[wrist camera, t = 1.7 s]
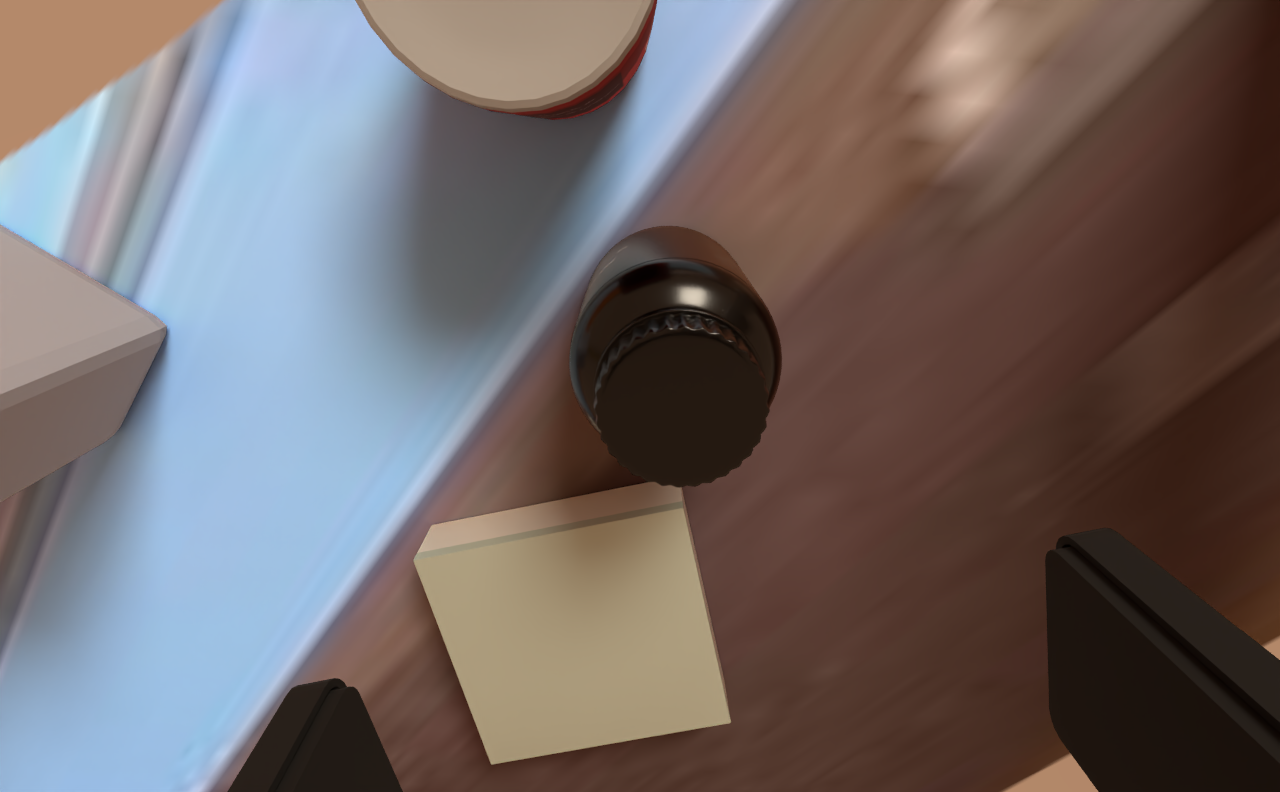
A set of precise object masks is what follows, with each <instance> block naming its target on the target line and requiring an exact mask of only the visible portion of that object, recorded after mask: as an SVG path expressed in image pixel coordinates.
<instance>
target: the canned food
mask: <svg viewBox="0 0 1280 792" xmlns="http://www.w3.org/2000/svg"><path fill="white" fill-rule="evenodd" d="M355 1H356V2H357V4H358V6H359V8H360V9H361V11H362V13H363V14H364V16H365V18H366V20H367V21H368V23H369V25H370V26H371V28H372V29H373V30H374V31H375V33H376V34H377V35H378V36H379V37H380V39H381V40H382V41H383V42H384V44H385V45H386V46H387V47H388V48H389V50H390V51H391V52H392V53H393V55H395V56H396V57H397V58H398V59H399V60H400V61H402V62H403V63H404V64H405V65H406V66H407V67H408V68H410V69H411V70H412V71H413V72H414V73H415V74H416V75H418V76H419V77H420V78H422V79H423V80H424V81H425V82H427V83H428V84H430V85H432V86H434V87H435V88H437V89H439V90H440V91H442V92H444V93H445V94H447V95H449V96H450V97H452V98H454V99H457V100H460V101H463V102H465V103H468V104H471V105H474V106H477V107H479V108H482V109H487V110H489V111H495V112H501V113H508V114H515V115H522V116H529V117H536V118H544V119H551V120H555V119H568V118H574V117H578V116H581V115H584V114H587V113H590V112H593V111H594V110H596V109H598V108H599V107H601V106H603V105H605V104H606V103H608V102H609V101H611V100H612V99H613V98H614V97H615V96H616V95H617V94H618V93H619V92H620V91H622V90H623V89H624V88H625V86H626V85H627V83H628V82H629V81H630V79H631V78H632V77H633V75H634V74H635V72H636V71H637V69H638V67H639V65H640V63H641V60H642V58H643V56H644V54H645V52H646V49H647V45H648V41H649V37H650V33H651V30H652V25H653V20H654V15H655V9H656V4H657V0H355Z"/></svg>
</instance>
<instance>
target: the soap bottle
mask: <svg viewBox="0 0 1280 792" xmlns="http://www.w3.org/2000/svg"><path fill="white" fill-rule="evenodd" d="M166 330H167V325H165V324H164V323H163V322H162V321H161V320H160V319H159V318H158V317H156V316H155V315H153V314H152V313H150V312H148V311H147V310H145V309H143V308H142V307H140V306H138V305H136V304H135V303H133V302H131V301H130V300H128V299H126V298H124V297H123V296H121V295H119V294H118V293H116V292H114V291H113V290H111V289H109V288H107V287H106V286H104V285H102V284H101V283H99V282H97V281H96V280H94V279H92V278H90V277H89V276H87V275H85V274H84V273H82V272H80V271H78V270H77V269H75V268H73V267H72V266H70V265H68V264H67V263H65V262H63V261H61V260H60V259H58V258H56V257H55V256H53V255H51V254H50V253H48V252H46V251H44V250H43V249H41V248H39V247H38V246H36V245H34V244H33V243H31V242H29V241H27V240H26V239H24V238H22V237H21V236H19V235H17V234H15V233H14V232H12V231H10V230H9V229H7V228H5V227H4V226H2V225H0V502H2V501H4V500H6V499H7V498H9V497H11V496H13V495H14V494H16V493H18V492H19V491H21V490H23V489H25V488H26V487H28V486H30V485H32V484H33V483H35V482H37V481H39V480H40V479H42V478H44V477H45V476H47V475H49V474H51V473H52V472H54V471H56V470H58V469H59V468H61V467H63V466H64V465H66V464H68V463H70V462H71V461H73V460H75V459H77V458H78V457H80V456H82V455H83V454H85V453H87V452H89V451H90V450H92V449H94V448H96V447H97V446H99V445H101V444H102V443H104V442H106V441H107V440H108V439H110V438H111V437H112V436H113V435H114V434H115V433H116V432H117V431H118V429H119V428H120V427H121V425H122V423H123V421H124V419H125V417H126V415H127V413H128V411H129V409H130V407H131V405H132V403H133V401H134V399H135V397H136V395H137V393H138V390H139V388H140V386H141V384H142V382H143V380H144V378H145V376H146V374H147V372H148V370H149V368H150V366H151V364H152V362H153V360H154V358H155V356H156V354H157V352H158V350H159V348H160V346H161V344H162V342H163V340H164V338H165V336H166Z"/></svg>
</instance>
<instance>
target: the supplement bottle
mask: <svg viewBox="0 0 1280 792" xmlns="http://www.w3.org/2000/svg"><path fill="white" fill-rule="evenodd" d="M569 367H570V378H571V383H572V387H573V391H574V394H575V397H576V399H577V402H578V404H579V406H580V408H581V410H582V412H583V414H584V415H585V417H586V418H587V420H588V421H589V422H590V424H591V425H592V426H593V427H594V429H595V430H596V431H597V432H598V433H599V434H600V435H601V440H602V441H603V442H604V443H605V444H606V445H607V446H608V451H609V453H610V454H611V455H612V456H614V457H616V458H617V460H618V463H619V464H620V465H621V466H623V467H626V468H628V469H629V471H630V472H631V473H632V475H636V476H641V477H642V478H643V479H644V480H645V481H647V482H656V483H658V484H659V485H661V486H668V485H672V486H675V487H678V488H680V487H683V486H686V485H688V486H694V487H695V486H698V485H700V484H701V483H711V482H713V481H714V480H715V479H716V478H718V477H723V476H726V475H727V474H728V473H729V472H730V471H731V470H732V469H735V468H737V467H739V466H740V465H741V463H742V461H743V460H744V459H746V458H747V457H749V456H750V455H751V453H752V451H753V448H754V447H755V446H756V445H757V444H758V443H759V442H760V439H761V433H762V432H763V431H764V430H765V428H766V417H767V416H768V413H769V410H770V409H769V408H770V406H771V404H772V402H773V400H774V397H775V394H776V392H777V389H778V385H779V381H780V375H781V367H782V354H781V345H780V339H779V335H778V332H777V328H776V326H775V323H774V321H773V318H772V316H771V314H770V312H769V310H768V308H767V307H766V305H765V303H764V302H763V300H762V299H761V298H760V296H759V295H758V293H757V292H756V290H755V289H754V287H753V286H752V284H751V283H750V281H749V280H748V279H747V277H746V276H745V274H744V273H743V271H742V270H741V268H740V267H739V266H738V264H737V263H736V261H735V260H734V259H733V258H732V256H731V255H730V254H729V253H728V252H727V251H726V250H725V249H724V248H723V247H722V246H721V245H720V244H718V243H717V242H716V241H714V240H713V239H711V238H710V237H708V236H706V235H704V234H702V233H700V232H697V231H695V230H692V229H688V228H684V227H678V226H659V227H652V228H648V229H644V230H641V231H638V232H636V233H634V234H632V235H629V236H628V237H626V238H624V239H623V240H621V241H620V242H619V243H617V244H616V245H615V246H614V247H613V248H611V249H610V250H609V251H608V253H607V254H606V255H605V256H604V257H603V258H602V260H601V261H600V262H599V264H598V266H597V267H596V269H595V271H594V273H593V275H592V277H591V280H590V282H589V285H588V288H587V291H586V294H585V297H584V301H583V304H582V307H581V310H580V313H579V316H578V320H577V323H576V326H575V329H574V333H573V337H572V341H571V348H570V361H569Z"/></svg>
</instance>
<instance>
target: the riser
mask: <svg viewBox="0 0 1280 792" xmlns="http://www.w3.org/2000/svg"><path fill="white" fill-rule="evenodd" d="M413 561H414V564H415V566H416V569H417V571H418V574H419V577H420V579H421V582H422V585H423V587H424V590H425V592H426V595H427V598H428V600H429V603H430V605H431V608H432V611H433V613H434V616H435V619H436V621H437V624H438V626H439V629H440V632H441V634H442V637H443V639H444V642H445V645H446V647H447V650H448V653H449V655H450V658H451V660H452V663H453V666H454V668H455V671H456V674H457V676H458V679H459V681H460V684H461V687H462V689H463V692H464V694H465V697H466V700H467V702H468V705H469V708H470V710H471V713H472V715H473V718H474V721H475V723H476V726H477V729H478V731H479V734H480V736H481V739H482V742H483V744H484V747H485V749H486V752H487V755H488V757H489V760H490V763H491V765H492V764H497V763H503V762H509V761H515V760H520V759H526V758H532V757H538V756H543V755H549V754H555V753H561V752H566V751H572V750H578V749H583V748H589V747H595V746H601V745H606V744H612V743H618V742H624V741H629V740H635V739H641V738H647V737H652V736H658V735H664V734H670V733H675V732H681V731H687V730H693V729H698V728H704V727H710V726H716V725H721V724H727V723H731V720H730V714H729V708H728V702H727V695H726V689H725V683H724V677H723V673H722V668H721V664H720V659H719V655H718V650H717V646H716V641H715V637H714V632H713V628H712V623H711V619H710V614H709V610H708V605H707V600H706V596H705V591H704V587H703V582H702V578H701V573H700V569H699V564H698V560H697V555H696V551H695V546H694V542H693V537H692V533H691V528H690V523H689V519H688V514H687V510H686V505H685V501H684V496H683V492H682V487H680V488H678V487H675V486H672V485H668V486H661V485H659V484H658V483H656V482H647V483H642V484H637V485H632V486H627V487H622V488H617V489H611V490H606V491H601V492H596V493H591V494H586V495H581V496H576V497H571V498H566V499H561V500H556V501H551V502H546V503H541V504H536V505H531V506H526V507H521V508H516V509H511V510H506V511H501V512H496V513H491V514H486V515H480V516H475V517H470V518H465V519H460V520H455V521H450V522H445V523H440V524H435V525H432V526H431V528H430V530H429V531H428V533H427V535H426V537H425V539H424V541H423V543H422V545H421V547H420V549H419V551H418V553H417V555H416V556H415V558H414V560H413Z"/></svg>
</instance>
